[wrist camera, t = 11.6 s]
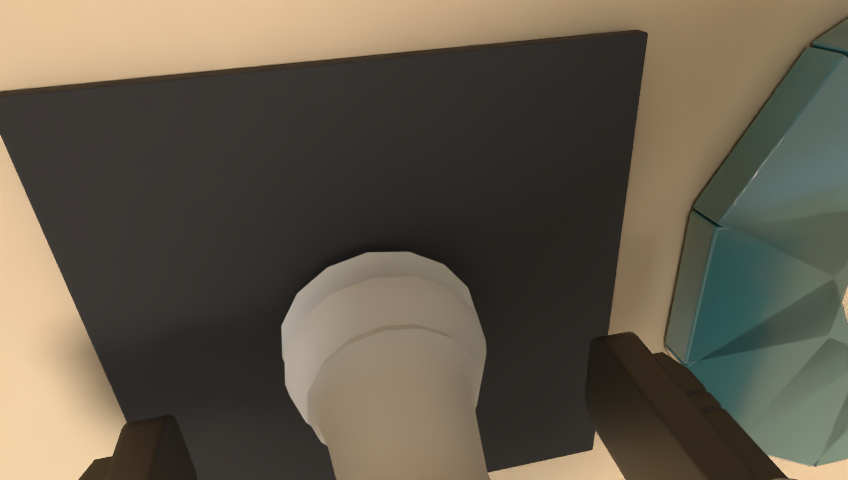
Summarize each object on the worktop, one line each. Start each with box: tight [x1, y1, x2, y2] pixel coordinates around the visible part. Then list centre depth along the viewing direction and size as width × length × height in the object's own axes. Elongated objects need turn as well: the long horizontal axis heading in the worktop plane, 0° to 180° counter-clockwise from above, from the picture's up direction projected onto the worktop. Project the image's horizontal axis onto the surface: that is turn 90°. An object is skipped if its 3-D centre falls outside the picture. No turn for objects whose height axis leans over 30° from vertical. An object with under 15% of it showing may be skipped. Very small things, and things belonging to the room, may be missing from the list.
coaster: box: [0, 30, 648, 480], centre depth 13 cm, size 12×12×1 cm
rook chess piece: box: [281, 252, 490, 480], centre depth 10 cm, size 4×4×8 cm
